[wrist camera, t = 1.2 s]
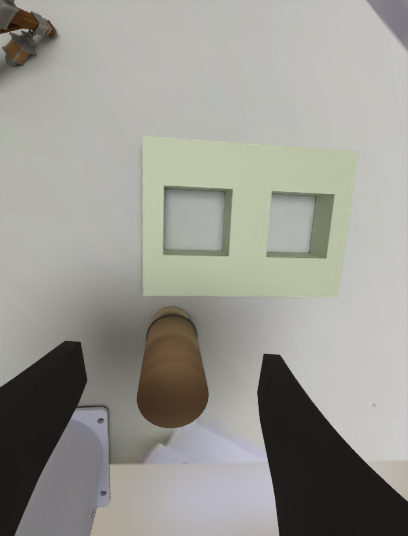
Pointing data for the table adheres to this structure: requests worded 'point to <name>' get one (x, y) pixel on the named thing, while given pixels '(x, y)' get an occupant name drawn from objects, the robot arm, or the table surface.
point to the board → (246, 217)
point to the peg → (172, 371)
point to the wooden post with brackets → (12, 18)
